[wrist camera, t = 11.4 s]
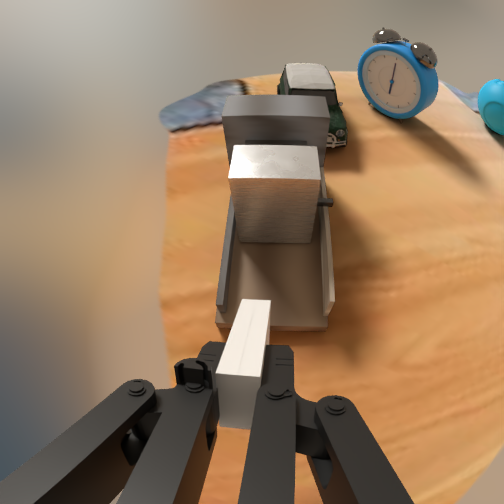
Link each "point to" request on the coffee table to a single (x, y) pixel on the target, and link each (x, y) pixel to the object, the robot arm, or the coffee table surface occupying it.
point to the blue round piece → (492, 105)
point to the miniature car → (316, 84)
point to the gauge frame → (278, 254)
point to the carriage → (275, 192)
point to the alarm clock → (398, 75)
